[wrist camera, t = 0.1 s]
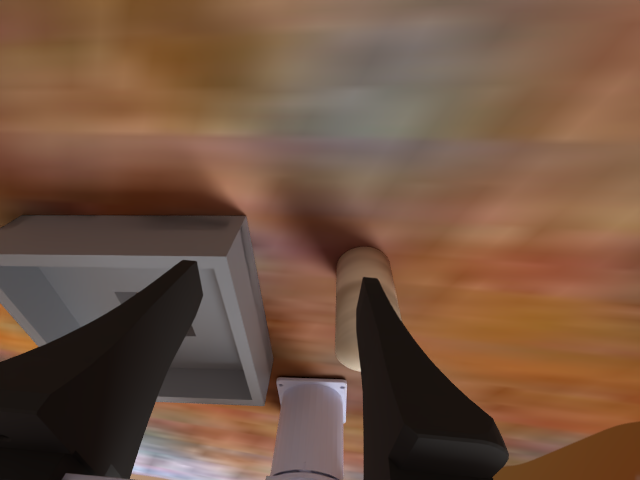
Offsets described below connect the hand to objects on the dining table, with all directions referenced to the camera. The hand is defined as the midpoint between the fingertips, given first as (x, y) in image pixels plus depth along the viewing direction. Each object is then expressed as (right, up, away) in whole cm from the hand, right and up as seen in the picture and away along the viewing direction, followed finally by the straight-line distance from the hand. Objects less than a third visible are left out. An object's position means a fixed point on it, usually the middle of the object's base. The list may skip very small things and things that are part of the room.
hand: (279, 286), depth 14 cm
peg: (+5, 0, +12) cm, 13 cm away
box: (-12, -4, +15) cm, 20 cm away
